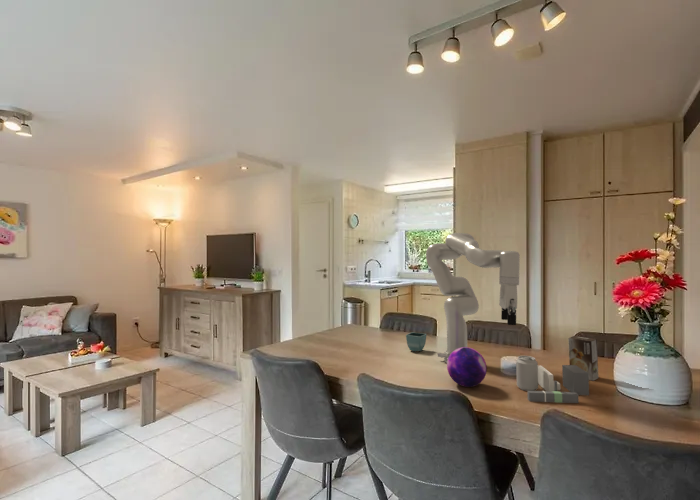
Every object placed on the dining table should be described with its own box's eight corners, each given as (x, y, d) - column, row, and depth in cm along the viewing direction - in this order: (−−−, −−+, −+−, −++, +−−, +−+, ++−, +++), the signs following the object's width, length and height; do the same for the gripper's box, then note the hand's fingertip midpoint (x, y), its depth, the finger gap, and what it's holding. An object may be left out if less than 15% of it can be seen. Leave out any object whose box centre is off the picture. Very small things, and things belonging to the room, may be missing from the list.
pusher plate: (554, 398, 131) (553, 378, 131) (537, 383, 147) (537, 365, 148) (570, 399, 131) (570, 379, 131) (552, 383, 147) (552, 365, 147)
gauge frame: (529, 401, 130) (528, 378, 130) (514, 383, 148) (513, 363, 148) (600, 404, 127) (600, 380, 127) (576, 385, 144) (575, 365, 145)
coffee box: (599, 377, 153) (598, 339, 154) (593, 381, 150) (592, 341, 150) (575, 372, 161) (574, 335, 161) (568, 375, 157) (567, 337, 157)
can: (540, 392, 138) (540, 360, 138) (519, 391, 140) (518, 359, 140) (535, 385, 145) (534, 355, 146) (514, 384, 147) (513, 354, 147)
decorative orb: (452, 377, 157) (452, 341, 157) (490, 383, 149) (489, 345, 150) (442, 388, 144) (441, 349, 144) (482, 395, 136) (482, 354, 137)
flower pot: (427, 349, 204) (426, 333, 204) (421, 353, 197) (420, 336, 197) (412, 348, 209) (411, 332, 209) (405, 351, 201) (405, 334, 202)
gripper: (494, 278, 162) (494, 317, 162) (504, 283, 145) (504, 326, 145) (512, 279, 161) (512, 318, 161) (525, 283, 144) (524, 327, 144)
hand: (508, 322), depth 153 cm, fingers open, 9 cm apart
